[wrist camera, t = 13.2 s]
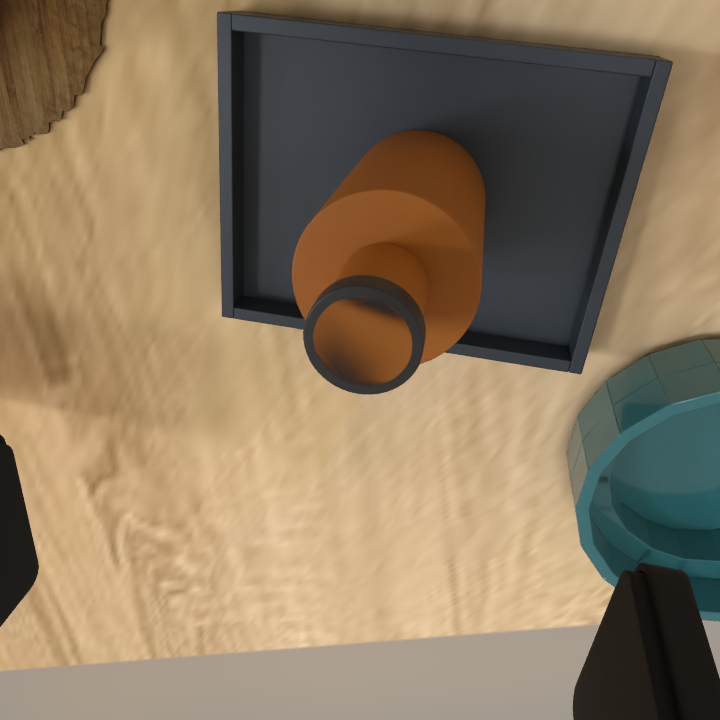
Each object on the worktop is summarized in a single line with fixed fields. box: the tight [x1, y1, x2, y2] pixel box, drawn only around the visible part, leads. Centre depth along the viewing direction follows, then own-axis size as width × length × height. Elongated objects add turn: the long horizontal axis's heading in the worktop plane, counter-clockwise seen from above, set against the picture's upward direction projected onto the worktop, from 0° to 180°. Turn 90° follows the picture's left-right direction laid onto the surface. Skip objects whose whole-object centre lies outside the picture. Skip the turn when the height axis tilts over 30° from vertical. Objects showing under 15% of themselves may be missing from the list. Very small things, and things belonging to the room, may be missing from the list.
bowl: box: [567, 339, 720, 621], centre depth 32 cm, size 13×13×5 cm
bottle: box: [292, 130, 485, 394], centre depth 23 cm, size 6×6×14 cm
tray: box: [217, 11, 673, 374], centre depth 29 cm, size 17×13×2 cm
